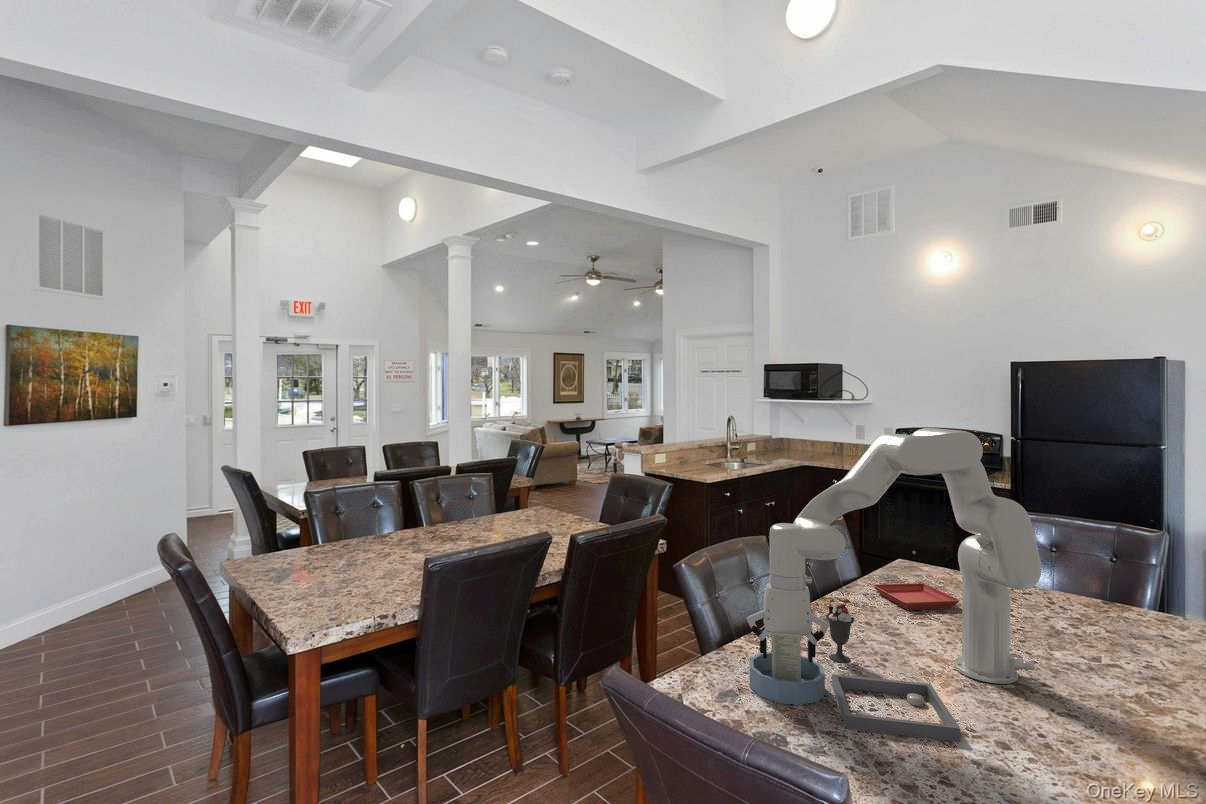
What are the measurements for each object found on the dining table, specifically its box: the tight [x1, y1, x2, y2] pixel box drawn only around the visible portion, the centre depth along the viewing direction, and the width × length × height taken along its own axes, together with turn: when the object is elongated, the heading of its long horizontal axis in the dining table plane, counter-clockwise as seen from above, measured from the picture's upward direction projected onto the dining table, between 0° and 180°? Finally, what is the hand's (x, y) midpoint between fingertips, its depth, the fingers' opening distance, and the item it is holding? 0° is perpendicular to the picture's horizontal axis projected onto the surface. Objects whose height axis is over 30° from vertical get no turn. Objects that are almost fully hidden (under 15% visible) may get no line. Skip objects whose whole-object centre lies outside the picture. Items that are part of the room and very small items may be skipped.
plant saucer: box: [873, 582, 961, 611], centre depth 191 cm, size 18×18×3 cm
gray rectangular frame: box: [831, 673, 962, 743], centre depth 124 cm, size 20×18×2 cm
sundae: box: [825, 598, 856, 664], centre depth 148 cm, size 7×7×15 cm
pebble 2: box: [906, 693, 925, 708], centre depth 127 cm, size 3×3×1 cm
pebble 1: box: [855, 711, 873, 716], centre depth 119 cm, size 3×3×1 cm
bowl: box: [749, 651, 826, 706], centre depth 134 cm, size 16×16×4 cm
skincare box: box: [770, 632, 802, 682], centre depth 134 cm, size 6×4×12 cm
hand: (787, 658), depth 134 cm, fingers open, 9 cm apart
